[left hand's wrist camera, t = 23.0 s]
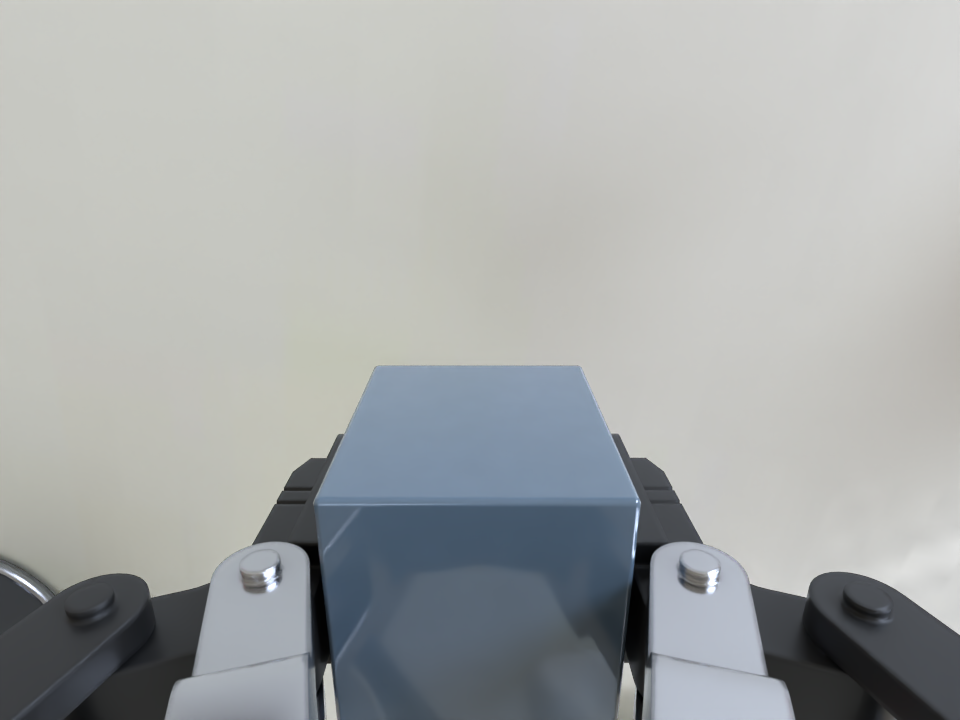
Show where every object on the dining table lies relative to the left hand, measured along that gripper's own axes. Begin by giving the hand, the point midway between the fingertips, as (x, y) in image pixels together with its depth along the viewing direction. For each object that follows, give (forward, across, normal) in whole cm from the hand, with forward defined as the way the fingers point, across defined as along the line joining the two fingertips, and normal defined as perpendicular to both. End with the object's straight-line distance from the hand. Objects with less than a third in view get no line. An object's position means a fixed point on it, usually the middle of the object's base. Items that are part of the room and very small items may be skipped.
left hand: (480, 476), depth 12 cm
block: (0, 0, 0) cm, 0 cm away
